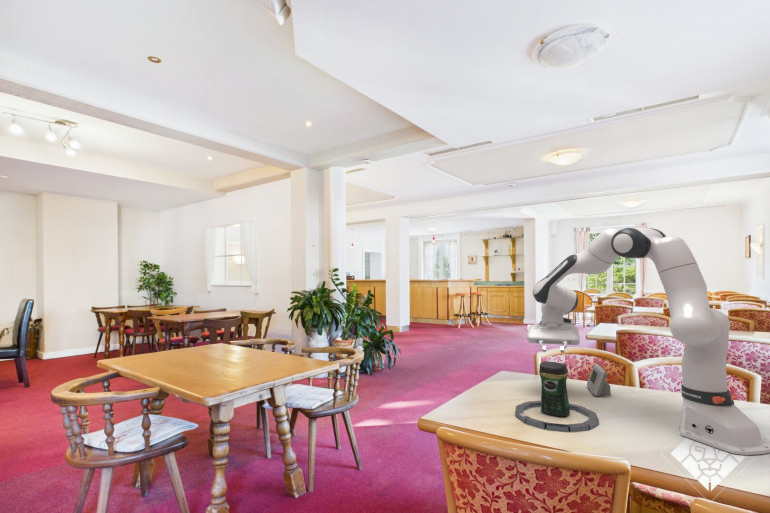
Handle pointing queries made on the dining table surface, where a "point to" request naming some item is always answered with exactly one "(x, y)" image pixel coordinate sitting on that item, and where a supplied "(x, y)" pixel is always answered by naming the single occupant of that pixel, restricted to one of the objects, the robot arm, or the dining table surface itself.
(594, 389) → the digital clock
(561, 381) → the coffee jar
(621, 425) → the dining table surface
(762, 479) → the dining table surface
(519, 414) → the grey segmented ring
